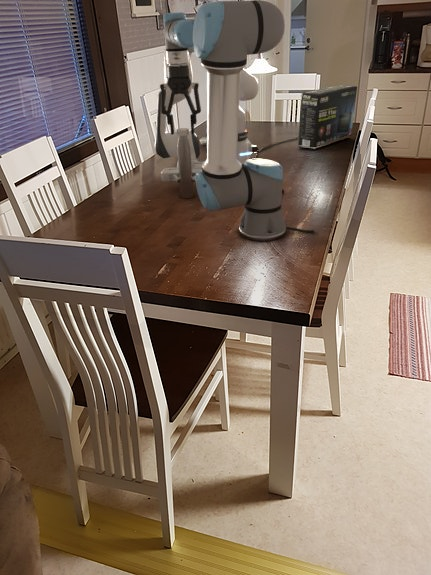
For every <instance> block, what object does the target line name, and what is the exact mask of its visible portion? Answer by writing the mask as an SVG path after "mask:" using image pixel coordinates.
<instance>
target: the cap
mask: <svg viewBox="0 0 431 575" xmlns="http://www.w3.org/2000/svg"><path fill="white" fill-rule="evenodd" d="M189 131H190V130H189V128H187V127H180V128H176V131H175V132H177V135H178V136H185V135H189Z"/></svg>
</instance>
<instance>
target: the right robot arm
mask: <svg viewBox="0 0 431 575" xmlns="http://www.w3.org/2000/svg"><path fill="white" fill-rule="evenodd" d="M162 27H163V33H164V45H166V46H165V48H166V58H167V64H169V66H168V67H167V70H168V81H167V83H165V84H164V83H161V84H160V85H159V88H160V91H161V92H162V93H161V113H162V114H165V115H166V125H168V126H170V133H171V135H173V134H174V132H175V125H174V124H175V123H174V115H173V114H172V110H173V106H174V105H173V103H174V99H175V95H176V94H184V96H185V97H186V98H185V99H186V102H187V105H188V107H189V109H190V113H191V114H190V117H189V118H190V131H191V134H194V133H195V125H197V121H198V120H197V115H198V114H200V113H201V112H202V106H201V100H200V94H199V93H200V92H199V87H200V83H199V82H194V81H193V82H191V80H190V75H189V66H188V65H187V63H189V58H188V47H192V46H194V52H195V53H194V54H195V56H196V58H198V59H200V65H201V66H202V67H203V68H204V69H205V70H206V137H207V145H206V159H205V160H203V161H204V162H203V164H202V172H198V173H197V174H196V177H195V181H196V182H195V187H196V191H197V195H198V198H199V201H200V202H201V205H202V206H203V208H204V209H205V210H207V211H221V210H226V209H231V208H237V207H244V211H243V213H242V215H241V217H240V222H239V226H238V232H239V235H240V236H241V237H242V238H244V239H247V240H250V241H254V242H271V241H277V240H279V239H281V238H283V237H285V235H286V234H287V230H288V231H294V232H300V233H305V234H314V233H315V230H314V229H303V228H302V229H301V228H297V227H290V226H287V223H286V221H285V216H284V214H283V210H282V200H283V194H282V189H283V183H284V174H283V173H284V172H283V171H284V170H283V166H282V164H280V163H279V162H277V161H275V160H271V159H266V158H259V157H258V158H257V157H256V158H252V159H248V160H245V163H244V164H242V165H241V163H240V162H239V161H238V160H237V144H238V119H239V106H240V101H239V94H240V72H241V70H242V69H243V68H244V69H245V67H246V66H247V64H248V56H250V55H251V56H252V55H260V54H264V53H267V52H270V51H271V50H273V49H274V48H276V47H277V46H278V45H279V44H280V43H281V41H282V39H283V37H284V34H285V31H286V20H285V16H284V15H283V12H282V11H281V9H280V8H279V7H278V6H277V5H275V4H274V3H271V2H270V1H267V0H216V1H210V2H205V3H203V4H201V5H200V6H199V7H198V9H197V11H196V13H195V17H194V18H187V15H186V13H185V12H166V13H164V14H163V25H162ZM190 85H191V86H192V90H193V95H194V100H195V105H194V103H193V100H192V98H191V95H190V94H189V92H188V89H189V87H190ZM167 86H168V87H169V88H170V89H171V91H172V93H171V97H170V101H169V105H168V109H167V110H166V89H167Z"/></svg>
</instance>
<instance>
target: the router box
mask: <svg viewBox="0 0 431 575" xmlns="http://www.w3.org/2000/svg"><path fill="white" fill-rule="evenodd" d="M357 93H358V86H356V85H350V84H339V85H338V84H337V85H334V86H328V87H324V88H318V89H314V90H309V91H304V92H301V93H300V109H299V110H300V111H299V124H298V135H297V136H298V138H297V146H298V145H302V146H307V147H317V146H320V145H323V144H325V143H328V142H331V141H333V140H336V139H338V138H341V137H344V136H347V135H351V136H352V133H353V132H352V131H353V125H354V115H355V109H356V99H357ZM311 151H313V150H312V149H311Z"/></svg>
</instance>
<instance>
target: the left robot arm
mask: <svg viewBox="0 0 431 575" xmlns="http://www.w3.org/2000/svg"><path fill="white" fill-rule="evenodd" d="M164 45H165V44H164ZM192 54H195V52H194V46H192V47H188V58H189V63H187V65H188V66H189V75H190V80H191V82H194V78H193V76H194V75H193V67H192V63H191V62H192V61H191V59H192V58H191V57H192ZM168 66H169V64H167V58H166V45H165V48H164V51H163V65H162V67H163V75H164V76H163V79H164V83H163V84H165V83H167V81H168V70H167V67H168ZM259 84H260V83H259V80H258V78H257V77H256V76H254V75H252V74H251V73H249V72H248V71H247V70H246V69H245V67H244V68H243V69H242V70H241V72H240V94H239V102H245V101H251V100H254V99H255V98H256V97H257V95H258V93H259V89H260V85H259ZM192 91H193V89H192V86H191V85H190V87H189V89H188V92H189V95H190V94H191V93H192ZM161 93H162V92H161V90H160V91H159V92H158V94H157V102H156V122H155V126H156V127H155V139H154V150H155V154H157V156H158V157H161V158H162V159H168V158H172V157H173V158H174V157H178V153H177V145H178V144H177V143H178V139H179V137H178V135H177V132H176V131H174V134H173V135H171V132H168V131H167V116H166V115H165V114H162V113H161ZM171 93H172V91H171V89H170V88H169V87H168V86H167V89H166V110H167V109H168V105H169V101H170V97H171ZM185 99H186V97H185V96H184V94H176V95H175V99H174V103H173V106H174V105H176V104H178V103H180V102H182V101H183V100H185ZM246 124H247V122H246V112H245V111H244V110H243V108H242V107H241V106H240V105H239V119H238V144H237V160H238V161H239V162H240V163H241V165H242V166H243V165H244V163H245V160H248V159H249V158H250V156H251V154H252V153H253V152H254V153H257V154H256V156H255V158H257V156H258V153H262V152H263V151H264V150H265V149H267V148H266V147H265V146H263V147H264V148H263V147H262V148H260V149H259V148H258V145H255V144H252V143H251V141H250V140H249V139H248V134H249V129H247V127H246ZM187 136H188V140H189V143H190V148H191V164H192V182H193V183H196V181H195V177H196V174H197V173H198V172H202V164H203V162H204V161H205V160H198V158H199V157H200V154H201V149H200V148H201V144H200V139H199V137H198V135H197V134H196V133H195V132H194V134H191V130H189V135H187ZM257 150H259V151H257ZM160 177H161V178H160V179H161V181H162V182H164V183H165V182H175V184H178V183H180V178H179V166H178V162H177V164H176V167H166V168H163V169H162V171H161V172H160Z"/></svg>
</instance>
